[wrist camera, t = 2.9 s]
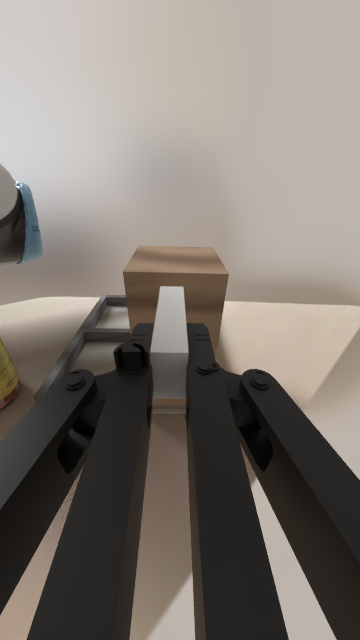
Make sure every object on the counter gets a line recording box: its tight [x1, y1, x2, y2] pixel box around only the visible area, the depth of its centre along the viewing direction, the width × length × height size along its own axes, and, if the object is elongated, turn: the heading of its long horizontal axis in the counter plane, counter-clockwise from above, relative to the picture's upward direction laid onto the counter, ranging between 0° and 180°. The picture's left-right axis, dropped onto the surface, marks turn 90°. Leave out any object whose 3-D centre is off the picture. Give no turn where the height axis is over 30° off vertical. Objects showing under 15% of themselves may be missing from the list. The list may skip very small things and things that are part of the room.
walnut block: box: [123, 246, 229, 405], centre depth 24 cm, size 8×8×16 cm
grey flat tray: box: [34, 295, 221, 414], centre depth 34 cm, size 25×21×3 cm
